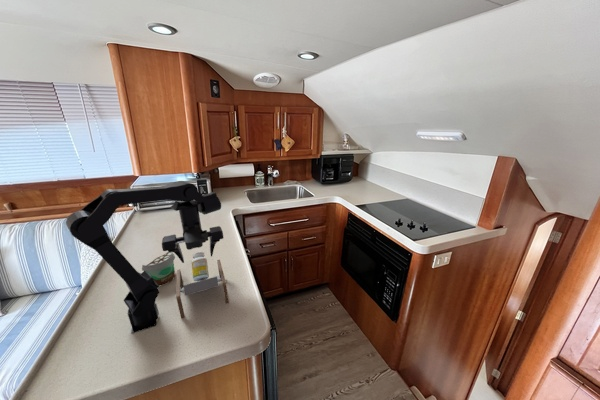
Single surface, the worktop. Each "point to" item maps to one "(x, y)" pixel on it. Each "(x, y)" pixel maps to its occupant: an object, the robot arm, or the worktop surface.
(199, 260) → the supplement bottle
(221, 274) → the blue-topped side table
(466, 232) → the worktop surface
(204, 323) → the worktop surface
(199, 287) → the grey flat block
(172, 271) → the food container
